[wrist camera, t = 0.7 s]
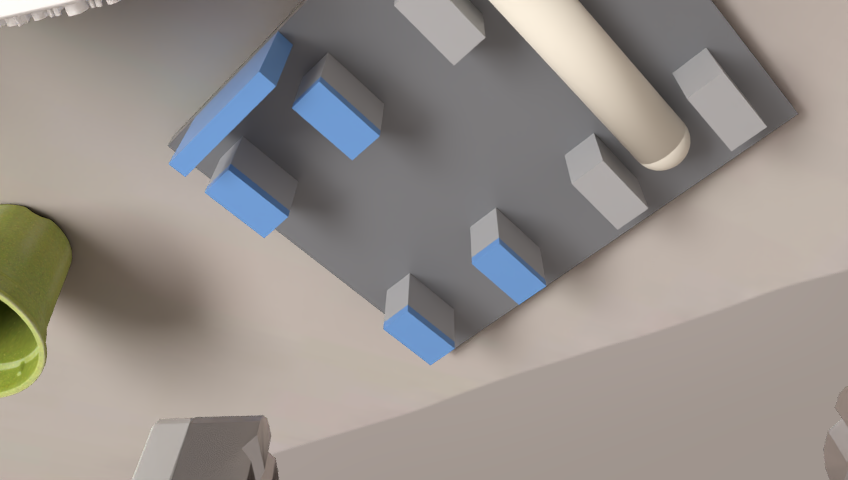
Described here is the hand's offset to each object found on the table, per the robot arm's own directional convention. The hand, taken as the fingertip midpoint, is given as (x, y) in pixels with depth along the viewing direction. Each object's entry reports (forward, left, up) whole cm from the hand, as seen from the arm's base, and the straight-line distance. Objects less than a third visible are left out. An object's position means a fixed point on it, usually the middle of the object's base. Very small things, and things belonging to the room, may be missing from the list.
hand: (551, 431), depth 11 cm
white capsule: (+1, +8, -29) cm, 30 cm away
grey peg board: (+8, +8, -32) cm, 34 cm away
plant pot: (+34, -5, -32) cm, 47 cm away
